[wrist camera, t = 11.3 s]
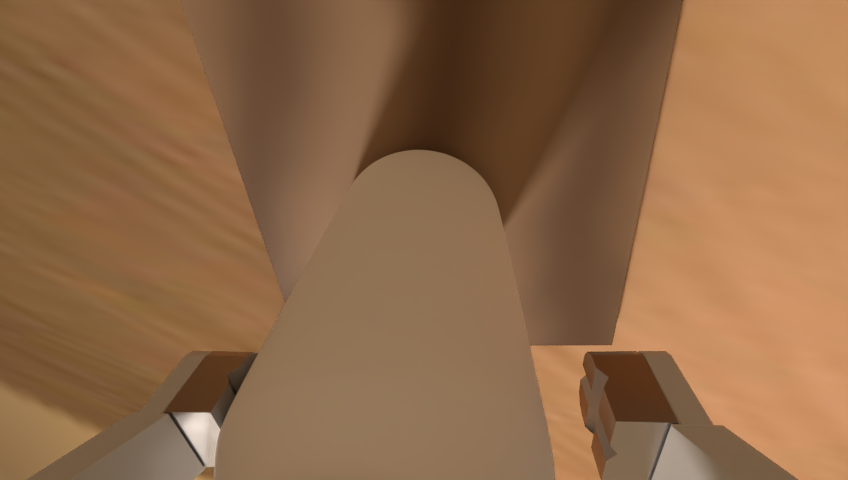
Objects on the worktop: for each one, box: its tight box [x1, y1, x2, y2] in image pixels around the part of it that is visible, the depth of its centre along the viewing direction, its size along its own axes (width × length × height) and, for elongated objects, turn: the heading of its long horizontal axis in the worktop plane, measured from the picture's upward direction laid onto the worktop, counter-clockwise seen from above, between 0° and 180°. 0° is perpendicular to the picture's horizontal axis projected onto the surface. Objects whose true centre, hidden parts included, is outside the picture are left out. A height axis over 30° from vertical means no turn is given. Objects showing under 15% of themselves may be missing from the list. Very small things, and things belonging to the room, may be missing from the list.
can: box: [214, 150, 555, 480], centre depth 11 cm, size 6×6×12 cm
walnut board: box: [180, 0, 682, 345], centre depth 16 cm, size 16×16×1 cm
